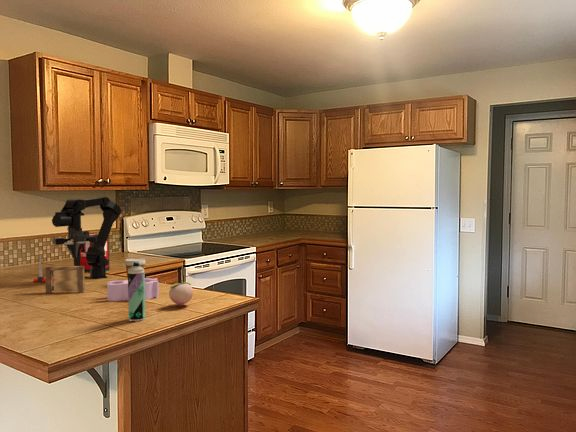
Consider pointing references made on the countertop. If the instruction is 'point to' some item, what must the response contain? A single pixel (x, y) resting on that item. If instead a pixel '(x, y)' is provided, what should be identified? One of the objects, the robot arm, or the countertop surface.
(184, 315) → the countertop surface
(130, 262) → the disposable coffee cup
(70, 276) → the door
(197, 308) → the countertop surface
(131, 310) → the spray can
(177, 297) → the decorative fruit
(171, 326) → the countertop surface
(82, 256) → the cleaning product box
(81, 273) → the frame
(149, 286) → the clip
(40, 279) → the tow hook
